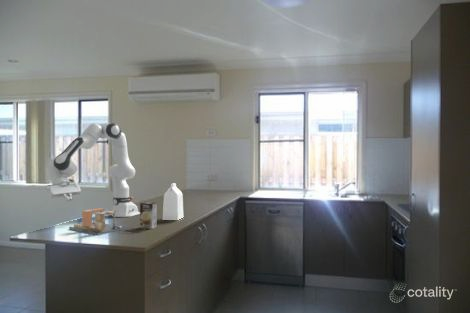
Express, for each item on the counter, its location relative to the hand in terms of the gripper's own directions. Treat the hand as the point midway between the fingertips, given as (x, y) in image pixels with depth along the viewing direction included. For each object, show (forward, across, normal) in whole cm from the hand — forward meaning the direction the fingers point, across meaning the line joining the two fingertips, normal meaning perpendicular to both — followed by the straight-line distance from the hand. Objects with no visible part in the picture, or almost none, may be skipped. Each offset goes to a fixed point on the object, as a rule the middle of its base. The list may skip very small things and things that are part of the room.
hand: (69, 200), depth 225 cm
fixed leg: (+26, +4, -3) cm, 26 cm away
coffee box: (+43, +27, -17) cm, 54 cm away
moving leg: (+24, +4, -2) cm, 25 cm away
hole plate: (+27, +5, -2) cm, 27 cm away
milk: (+39, +57, -12) cm, 70 cm away
